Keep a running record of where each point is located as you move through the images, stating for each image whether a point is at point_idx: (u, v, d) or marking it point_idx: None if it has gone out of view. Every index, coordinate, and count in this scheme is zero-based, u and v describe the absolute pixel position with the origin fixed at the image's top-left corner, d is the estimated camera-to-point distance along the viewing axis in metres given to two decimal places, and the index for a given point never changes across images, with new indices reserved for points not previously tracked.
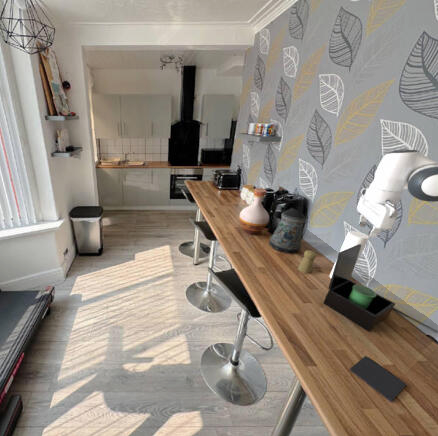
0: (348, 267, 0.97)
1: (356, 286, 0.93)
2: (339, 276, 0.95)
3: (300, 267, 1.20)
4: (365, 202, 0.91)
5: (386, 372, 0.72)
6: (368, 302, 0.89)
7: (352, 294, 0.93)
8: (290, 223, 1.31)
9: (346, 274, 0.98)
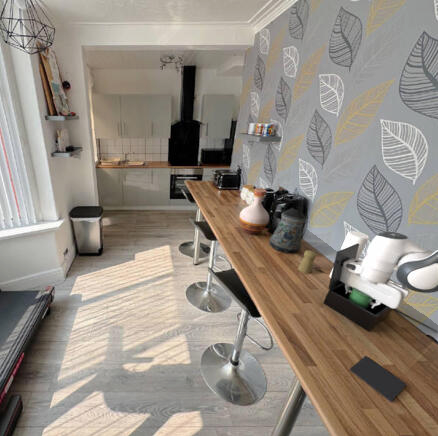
0: None
1: None
2: (338, 276, 0.95)
3: (300, 267, 1.20)
4: (349, 274, 0.93)
5: (386, 372, 0.72)
6: (368, 302, 0.89)
7: (352, 294, 0.93)
8: (290, 223, 1.31)
9: None
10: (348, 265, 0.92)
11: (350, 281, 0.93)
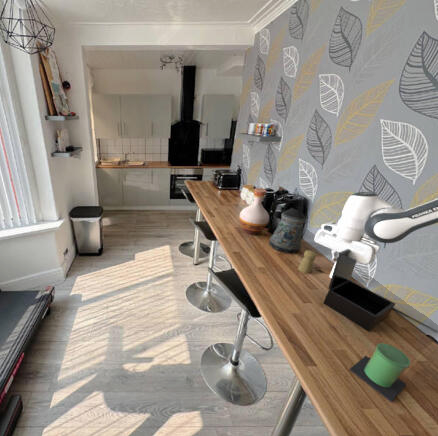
0: (348, 267, 0.97)
1: (381, 346, 0.69)
2: (339, 276, 0.95)
3: (300, 267, 1.20)
4: (327, 236, 0.98)
5: None
6: (399, 372, 0.65)
7: (376, 357, 0.68)
8: (290, 223, 1.31)
9: (346, 274, 0.98)
10: (325, 227, 0.97)
11: (328, 243, 0.98)
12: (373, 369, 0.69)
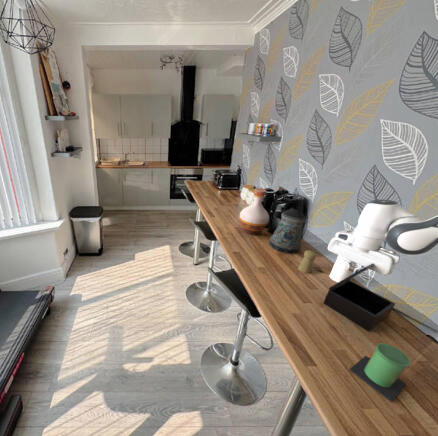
0: (358, 274, 0.94)
1: (381, 346, 0.69)
2: (345, 281, 0.93)
3: (300, 267, 1.20)
4: (342, 244, 0.94)
5: None
6: (399, 372, 0.65)
7: (376, 357, 0.68)
8: (290, 223, 1.31)
9: (351, 278, 0.96)
10: (340, 235, 0.93)
11: (342, 252, 0.94)
12: (373, 369, 0.69)
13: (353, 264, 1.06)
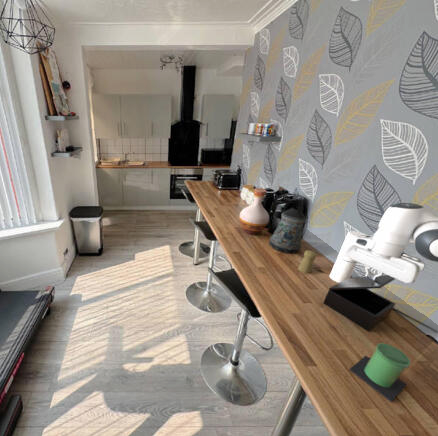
0: None
1: (381, 346, 0.69)
2: None
3: (300, 267, 1.20)
4: (360, 250, 0.89)
5: None
6: (399, 372, 0.65)
7: (376, 357, 0.68)
8: (290, 223, 1.31)
9: None
10: (359, 240, 0.88)
11: (361, 258, 0.89)
12: (373, 369, 0.69)
13: (353, 264, 1.06)
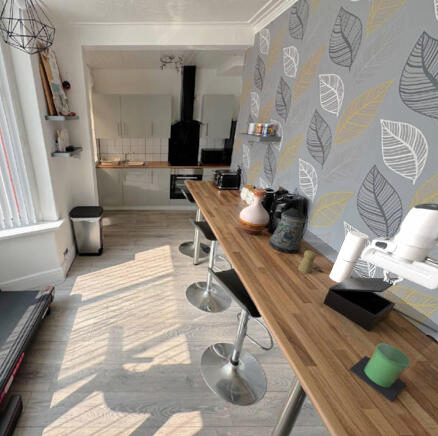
0: None
1: (381, 346, 0.69)
2: None
3: (300, 267, 1.20)
4: (379, 253, 0.84)
5: None
6: (399, 372, 0.65)
7: (376, 357, 0.68)
8: (290, 223, 1.31)
9: None
10: (378, 243, 0.83)
11: (380, 261, 0.84)
12: (373, 369, 0.69)
13: (353, 264, 1.06)
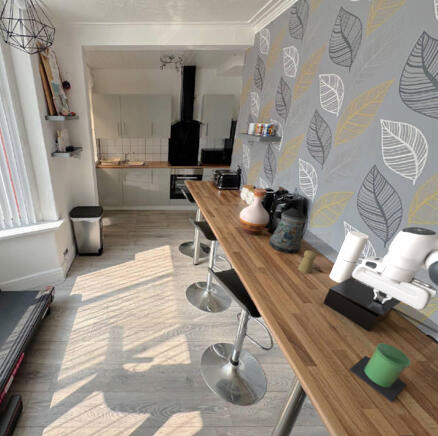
0: None
1: (381, 346, 0.69)
2: None
3: (300, 267, 1.20)
4: (369, 272, 0.87)
5: None
6: (399, 372, 0.65)
7: (376, 357, 0.68)
8: (290, 223, 1.31)
9: None
10: (368, 263, 0.86)
11: (370, 280, 0.87)
12: (373, 369, 0.69)
13: (353, 264, 1.06)
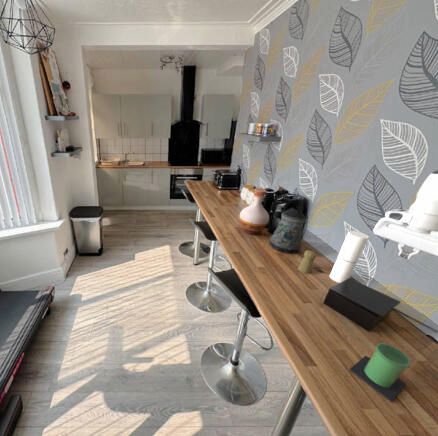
0: None
1: (381, 346, 0.69)
2: None
3: (300, 267, 1.20)
4: (393, 226, 0.80)
5: None
6: (399, 372, 0.65)
7: (376, 357, 0.68)
8: (290, 223, 1.31)
9: None
10: (392, 215, 0.78)
11: (394, 234, 0.80)
12: (373, 369, 0.69)
13: (353, 264, 1.06)
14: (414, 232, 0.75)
